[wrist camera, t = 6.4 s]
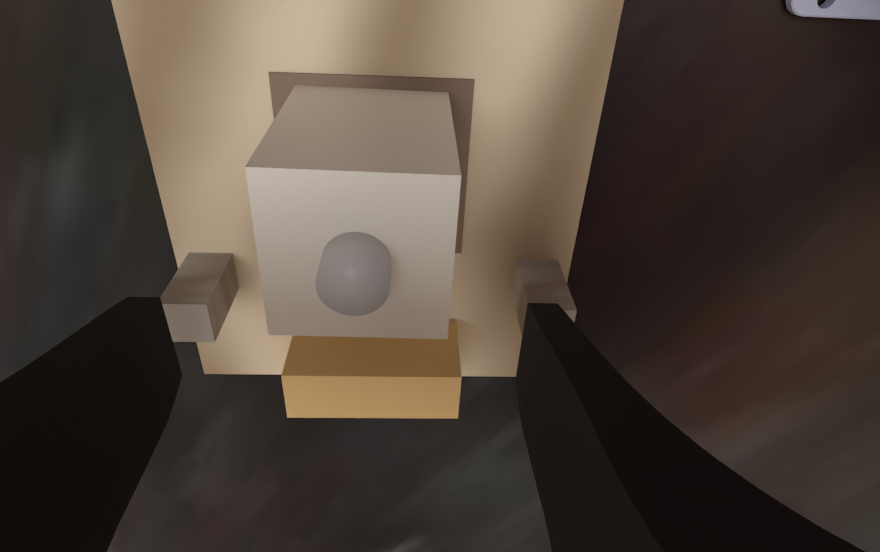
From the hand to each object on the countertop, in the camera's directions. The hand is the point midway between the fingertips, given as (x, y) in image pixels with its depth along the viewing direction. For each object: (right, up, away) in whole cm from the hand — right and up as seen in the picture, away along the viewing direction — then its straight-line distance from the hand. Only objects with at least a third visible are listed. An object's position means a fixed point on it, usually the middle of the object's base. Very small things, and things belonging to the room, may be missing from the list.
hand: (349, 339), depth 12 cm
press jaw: (-1, -1, +11) cm, 11 cm away
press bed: (0, +4, +8) cm, 9 cm away
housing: (0, +5, +7) cm, 8 cm away
